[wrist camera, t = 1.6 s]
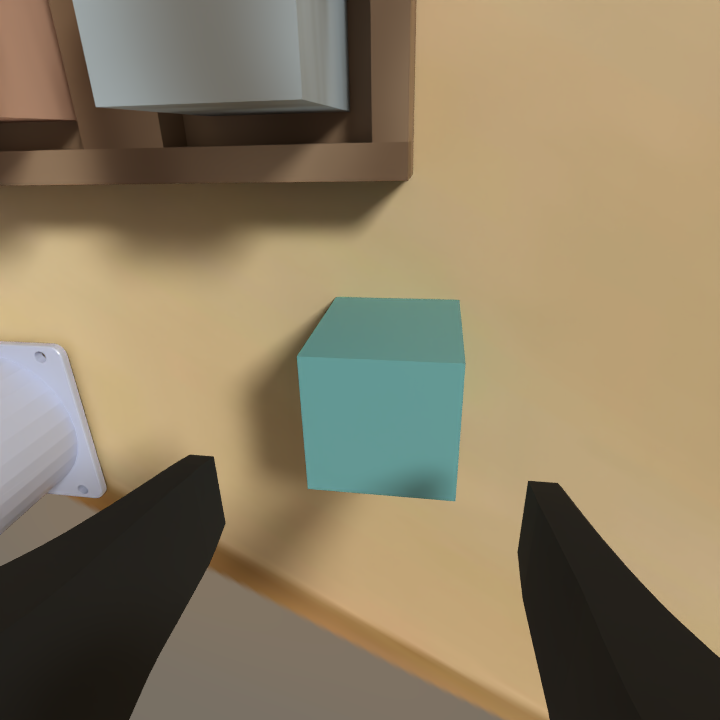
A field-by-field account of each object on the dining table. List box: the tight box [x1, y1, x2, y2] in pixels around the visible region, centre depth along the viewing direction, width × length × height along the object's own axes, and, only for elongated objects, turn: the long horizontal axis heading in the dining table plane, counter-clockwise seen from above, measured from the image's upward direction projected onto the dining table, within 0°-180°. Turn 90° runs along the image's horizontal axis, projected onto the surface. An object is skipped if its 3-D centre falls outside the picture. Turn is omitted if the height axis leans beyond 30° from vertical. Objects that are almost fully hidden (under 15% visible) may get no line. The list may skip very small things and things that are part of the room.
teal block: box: [297, 297, 465, 501], centre depth 16 cm, size 4×4×6 cm
